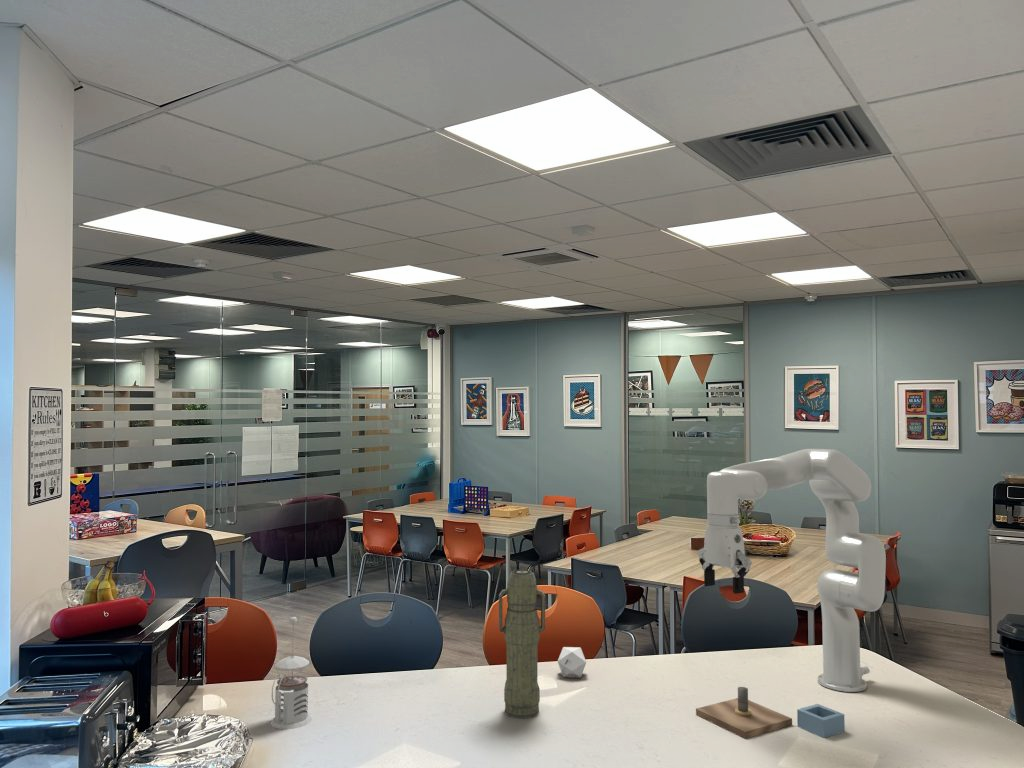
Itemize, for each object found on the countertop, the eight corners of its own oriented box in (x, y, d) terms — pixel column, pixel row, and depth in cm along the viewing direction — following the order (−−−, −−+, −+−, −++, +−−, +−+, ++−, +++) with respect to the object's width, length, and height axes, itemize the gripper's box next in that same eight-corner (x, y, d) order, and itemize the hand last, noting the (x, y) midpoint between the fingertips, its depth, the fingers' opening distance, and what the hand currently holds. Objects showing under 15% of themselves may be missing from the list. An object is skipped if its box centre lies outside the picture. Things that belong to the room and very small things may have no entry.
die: (552, 675, 213) (551, 654, 208) (569, 654, 218) (569, 634, 213) (574, 690, 208) (574, 670, 203) (591, 669, 214) (592, 649, 208)
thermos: (548, 716, 180) (548, 574, 182) (501, 719, 179) (502, 575, 181) (541, 703, 189) (541, 567, 191) (496, 706, 187) (497, 568, 189)
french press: (320, 715, 181) (321, 613, 182) (291, 734, 170) (293, 625, 171) (286, 710, 184) (288, 610, 186) (256, 728, 173) (258, 622, 175)
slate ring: (818, 720, 178) (817, 703, 179) (844, 731, 172) (844, 714, 172) (797, 726, 175) (797, 709, 175) (824, 738, 168) (823, 720, 169)
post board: (741, 702, 190) (741, 673, 190) (792, 724, 176) (791, 693, 176) (695, 714, 182) (695, 684, 182) (745, 738, 168) (744, 705, 168)
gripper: (760, 523, 179) (761, 594, 178) (708, 516, 194) (709, 581, 193) (738, 525, 175) (739, 598, 174) (687, 517, 190) (688, 584, 189)
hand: (723, 589), depth 183 cm, fingers open, 9 cm apart
